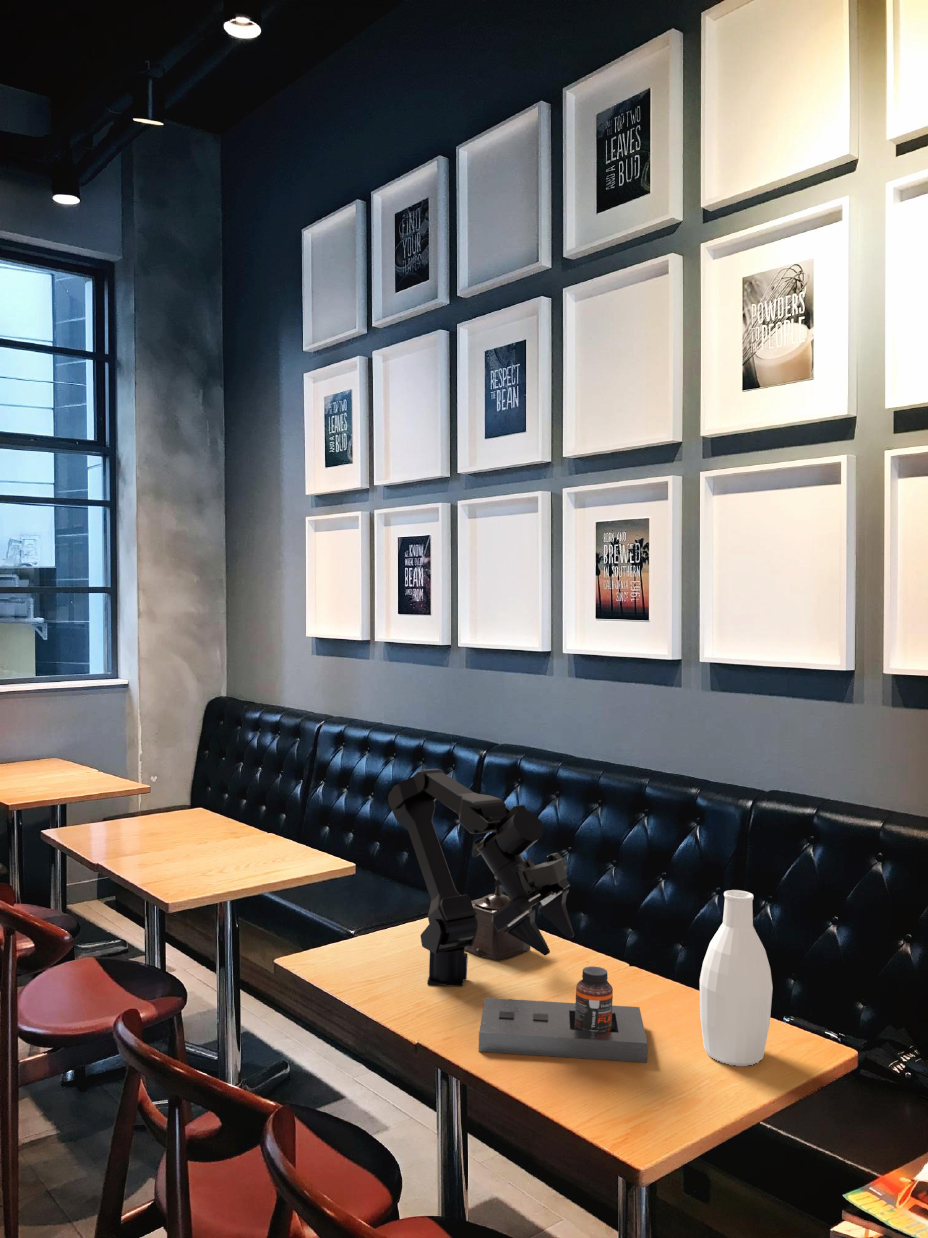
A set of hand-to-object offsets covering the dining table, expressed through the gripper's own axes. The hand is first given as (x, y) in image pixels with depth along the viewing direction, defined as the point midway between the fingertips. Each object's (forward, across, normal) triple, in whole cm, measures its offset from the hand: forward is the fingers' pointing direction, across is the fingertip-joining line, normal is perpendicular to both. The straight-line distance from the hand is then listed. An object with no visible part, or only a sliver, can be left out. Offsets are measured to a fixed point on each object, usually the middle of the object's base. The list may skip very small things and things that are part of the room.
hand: (560, 945), depth 168 cm
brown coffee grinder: (-5, +24, +27) cm, 37 cm away
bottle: (+28, +5, -12) cm, 32 cm away
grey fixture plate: (+12, -5, +6) cm, 14 cm away
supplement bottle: (+15, -3, +3) cm, 15 cm away
